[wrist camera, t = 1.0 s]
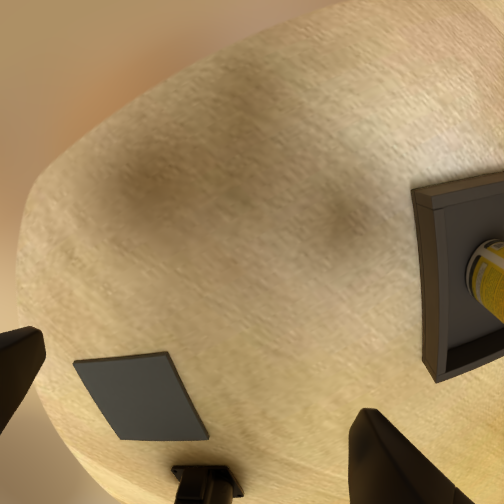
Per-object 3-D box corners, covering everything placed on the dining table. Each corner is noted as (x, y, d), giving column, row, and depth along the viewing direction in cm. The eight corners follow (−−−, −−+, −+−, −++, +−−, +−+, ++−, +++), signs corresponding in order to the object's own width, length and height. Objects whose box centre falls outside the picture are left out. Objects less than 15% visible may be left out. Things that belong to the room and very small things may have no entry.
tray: (526, 319, 20) (544, 335, 17) (421, 361, 22) (435, 384, 19) (529, 166, 17) (554, 170, 14) (410, 189, 19) (431, 196, 16)
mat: (209, 436, 26) (208, 440, 26) (121, 436, 27) (120, 439, 27) (167, 351, 23) (165, 355, 23) (74, 360, 25) (72, 363, 24)
